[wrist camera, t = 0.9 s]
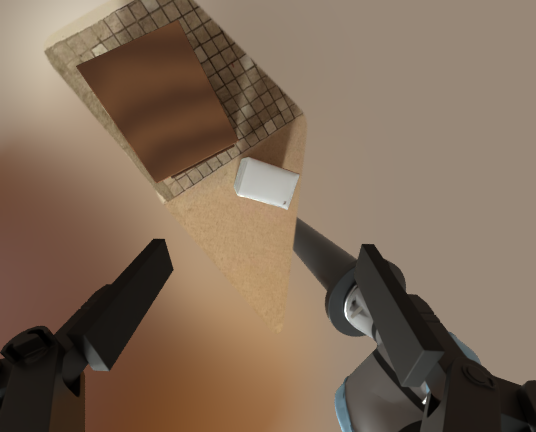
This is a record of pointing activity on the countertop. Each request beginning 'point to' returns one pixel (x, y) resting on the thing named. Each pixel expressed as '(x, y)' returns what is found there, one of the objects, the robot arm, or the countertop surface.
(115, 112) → the chest
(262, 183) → the small box
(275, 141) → the countertop surface
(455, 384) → the robot arm
